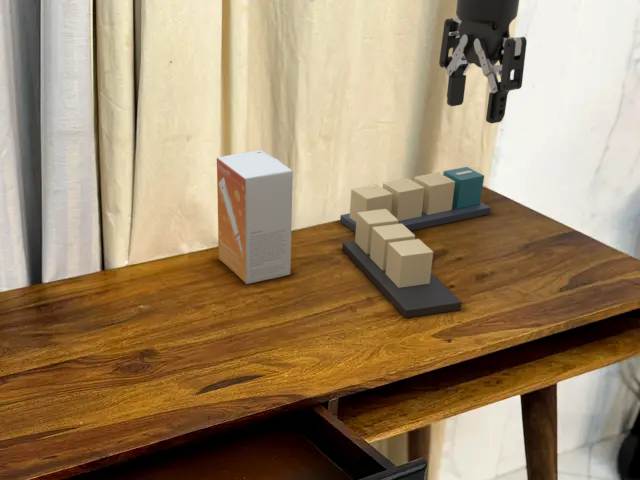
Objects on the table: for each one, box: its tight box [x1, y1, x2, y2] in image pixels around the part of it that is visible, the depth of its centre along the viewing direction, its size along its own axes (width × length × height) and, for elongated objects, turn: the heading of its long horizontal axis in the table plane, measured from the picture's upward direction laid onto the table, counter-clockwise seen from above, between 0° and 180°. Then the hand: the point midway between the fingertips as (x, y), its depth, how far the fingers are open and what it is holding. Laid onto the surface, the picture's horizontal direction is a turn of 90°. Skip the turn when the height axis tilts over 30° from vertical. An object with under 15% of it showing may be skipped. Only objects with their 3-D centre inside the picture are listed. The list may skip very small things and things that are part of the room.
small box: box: [216, 149, 294, 285], centre depth 119 cm, size 8×6×13 cm
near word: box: [341, 209, 463, 319], centre depth 119 cm, size 20×7×5 cm, turn 17°
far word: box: [339, 172, 491, 233], centre depth 134 cm, size 20×7×5 cm, turn 117°
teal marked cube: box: [442, 166, 485, 209], centre depth 136 cm, size 4×4×4 cm
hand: (474, 113), depth 130 cm, fingers open, 8 cm apart
